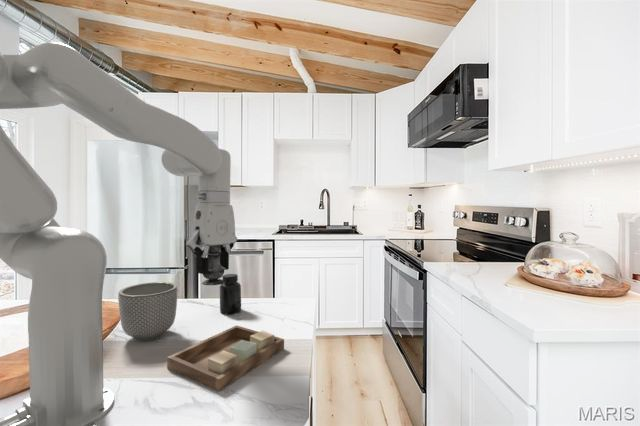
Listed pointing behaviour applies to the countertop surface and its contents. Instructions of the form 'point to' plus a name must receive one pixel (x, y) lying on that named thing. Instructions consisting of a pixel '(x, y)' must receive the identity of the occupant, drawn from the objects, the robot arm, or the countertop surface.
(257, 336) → the cube
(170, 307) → the planter
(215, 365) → the cube
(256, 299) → the countertop surface
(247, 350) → the cube
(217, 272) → the salt shaker
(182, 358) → the tray
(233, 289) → the supplement bottle
